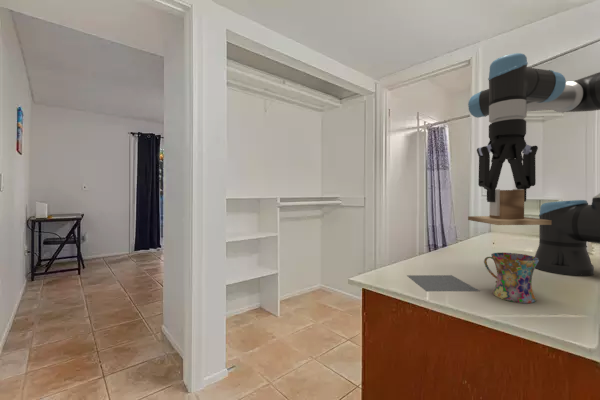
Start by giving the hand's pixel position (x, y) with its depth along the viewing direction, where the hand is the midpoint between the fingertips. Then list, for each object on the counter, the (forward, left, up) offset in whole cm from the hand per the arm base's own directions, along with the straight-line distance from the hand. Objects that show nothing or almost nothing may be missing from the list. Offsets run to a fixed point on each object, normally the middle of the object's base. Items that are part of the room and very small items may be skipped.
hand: (506, 215), depth 71 cm
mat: (+12, -10, -21) cm, 26 cm away
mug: (0, 0, -21) cm, 21 cm away
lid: (0, 0, -2) cm, 2 cm away
